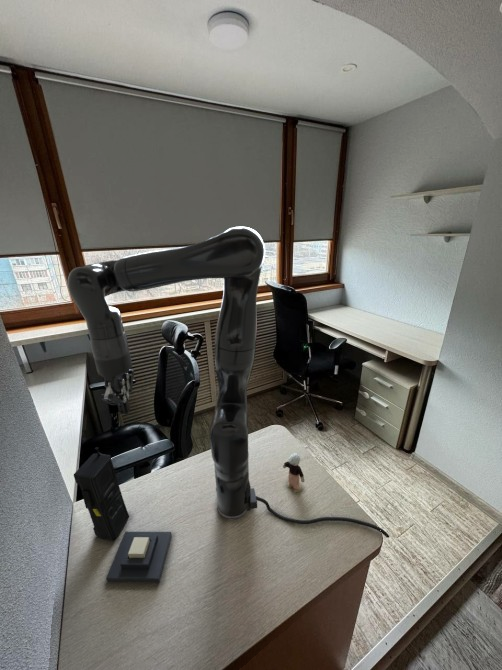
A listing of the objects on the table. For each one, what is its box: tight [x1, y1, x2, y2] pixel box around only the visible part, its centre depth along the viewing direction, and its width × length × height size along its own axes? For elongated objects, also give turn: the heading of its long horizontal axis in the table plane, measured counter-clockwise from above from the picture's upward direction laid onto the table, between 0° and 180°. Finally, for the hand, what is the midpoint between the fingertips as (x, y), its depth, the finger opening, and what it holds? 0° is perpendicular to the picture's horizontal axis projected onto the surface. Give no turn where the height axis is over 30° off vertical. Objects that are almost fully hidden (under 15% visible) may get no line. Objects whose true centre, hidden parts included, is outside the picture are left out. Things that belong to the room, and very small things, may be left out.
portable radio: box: [73, 446, 130, 542], centre depth 67 cm, size 8×6×25 cm
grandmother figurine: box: [282, 453, 305, 493], centre depth 81 cm, size 8×4×13 cm, turn 58°
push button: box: [105, 531, 173, 584], centre depth 65 cm, size 12×10×4 cm
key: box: [128, 537, 150, 558], centre depth 64 cm, size 4×4×2 cm
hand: (125, 412), depth 69 cm, fingers closed
